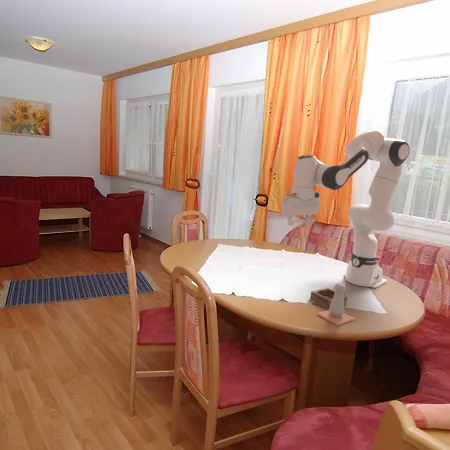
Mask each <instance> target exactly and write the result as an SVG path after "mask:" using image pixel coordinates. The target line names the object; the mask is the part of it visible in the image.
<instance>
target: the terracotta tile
mask: <svg viewBox="0 0 450 450" xmlns="http://www.w3.org/2000/svg"><path fill="white" fill-rule="evenodd" d="M317 316H319V317H321V318H322V319H324V320H326V321H328V322H330V323H332V324H334V325H335V326H338V327H339V326H342V325H344V324H345V325H346V324H348V323H351V322H354V321H355V320H356V319H355V317H353V316H351V315H348V314H346V313H345V312H344V314H343V315H342V317H340V318H335V317H333V316H331V315H330V311H329V309H328V310H323V311H319V312H317Z"/></svg>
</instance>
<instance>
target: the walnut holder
mask: <svg viewBox="0 0 450 450" xmlns="http://www.w3.org/2000/svg"><path fill="white" fill-rule="evenodd" d="M335 291H336V290H334V289H331V288H328V287H325V288H320V289H317V290H313V291H311V292H310V297H309V300H311V299H312V300H311V301H313V300H314V301H313V302H315V301H316V302H315V303H317V302H318V303H317V304H319V303H320V304H319V305H321V306H323V307H324V308H327V309H329V307H330V304H331V302H332V299H331V298H333V296H334V294H335ZM325 296H328V297H325ZM329 297H330V298H329ZM347 302H348V296H347V295H345V294H344V304H345V305H347Z"/></svg>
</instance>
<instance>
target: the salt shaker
mask: <svg viewBox="0 0 450 450" xmlns="http://www.w3.org/2000/svg"><path fill="white" fill-rule="evenodd" d="M333 288H334V289H333V290H334V291H335V294H334V296H333V299H332V302H331V304H330V307H329V308H328V310H329V311H330V315H331V316H333V317H335V318H340V317H342V315H343V314H344V313H345V311H346V310H345V305H344V295H345V292H346V290H347V287H346V285H345V284H343V283H340V282H338V283H335V284H334V287H333Z"/></svg>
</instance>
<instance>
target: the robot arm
mask: <svg viewBox="0 0 450 450" xmlns="http://www.w3.org/2000/svg"><path fill="white" fill-rule="evenodd" d="M409 154H410V144H409V143H408V142H407V141H405V140H403V139H399V138H398V139H395V138H390V137H389V138H388V137H387V138H385V135H384V133H383V132H382V131H381V130H379V129H376V128H374V129H372V128H371V129H370V130H367V131H365V132H362V133H361V134H359V135H357V136H355V137H353V138H352V139H351V140H350V141H349V142H348V143H347V144H346V146H345V155H346V158H347V160H345V161H344V162H343V163H341V164H336V165H335V164H334V165H333V164H325V163H323V162H321V161H320V160H318V159H317V157H316V155H312V154H304V155H300V156H299V157H297V159H296V161H295V164H294V171H293V177H294V178H293V179H294V180H293V183H292V187H291V193H290V192H288V193H286V194H285V195H284V197H283V200H282V203H281V208H280V214H282V215H284V216H286V218H287V220H288V222H287V225H288V226H294V224H295V221H293V217H294V216H302V215H305V218H304V219H303V222H302V223H303V225H309V223H310V219H311V218H312V215H317V214H318V213H319V209H320V200H321V199H320V198H321V196H322V195H321V193H320V192H318V191H317V190H314V188H315V187H314V186H316V187H323V188H327V189H329V190H333V191H338V190H340V189H342V188H343V187H344V186H345V184H346V183H347V181H348V180H349V179H350V178H351V177H352V176H353V175H354V174H355V173H357V171H359V169H362V167H364V165H365V164H366V163H367V162H368V160H369V161H376V162H379V166H378V168H377V171H375V175H374V176H373V178H372V182H371V185H370V186H369V189H368V194H369V196H370V198H371V200H370V201H371V202H370V205H368V204H365V203H362V204H361V203H360V204H358V203H357V204H354V205H352V206H351V207H350V208H349V210H348V214H347V216H348V219H349V221H350V222H351V226H352V229H353V236H354V237H353V238H354V239H353V248H352V253H350V254H351V255H350V260H349V262H348V264H347V267H346V268H347V269H346V271H345V273H343V277H344V279H345V281H346V282H348V283H350V284H353V285H355V286H360V287H368V288H373V289H377V288H378V287H380V286H382V285H384V284H386V283H387V279H386V278H383V274H384V271H383V269H382V268H381V267H380V266H379V264H378V262H380V260H381V256H378V255H377V251H378V247H379V242H378V239H377V238H376V236H375V234H374V231H375V232H388V231H390V230H391V229H392V228H393V226H394V223H395V216H394V214H393V213H392V206H391V204H392V198H393V195H394V193H395V190H396V188H397V185H398V183H399V180H400V177H401V174H402V169H403V164H404V162H405V161H406V160H407V159H408V157H409Z"/></svg>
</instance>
